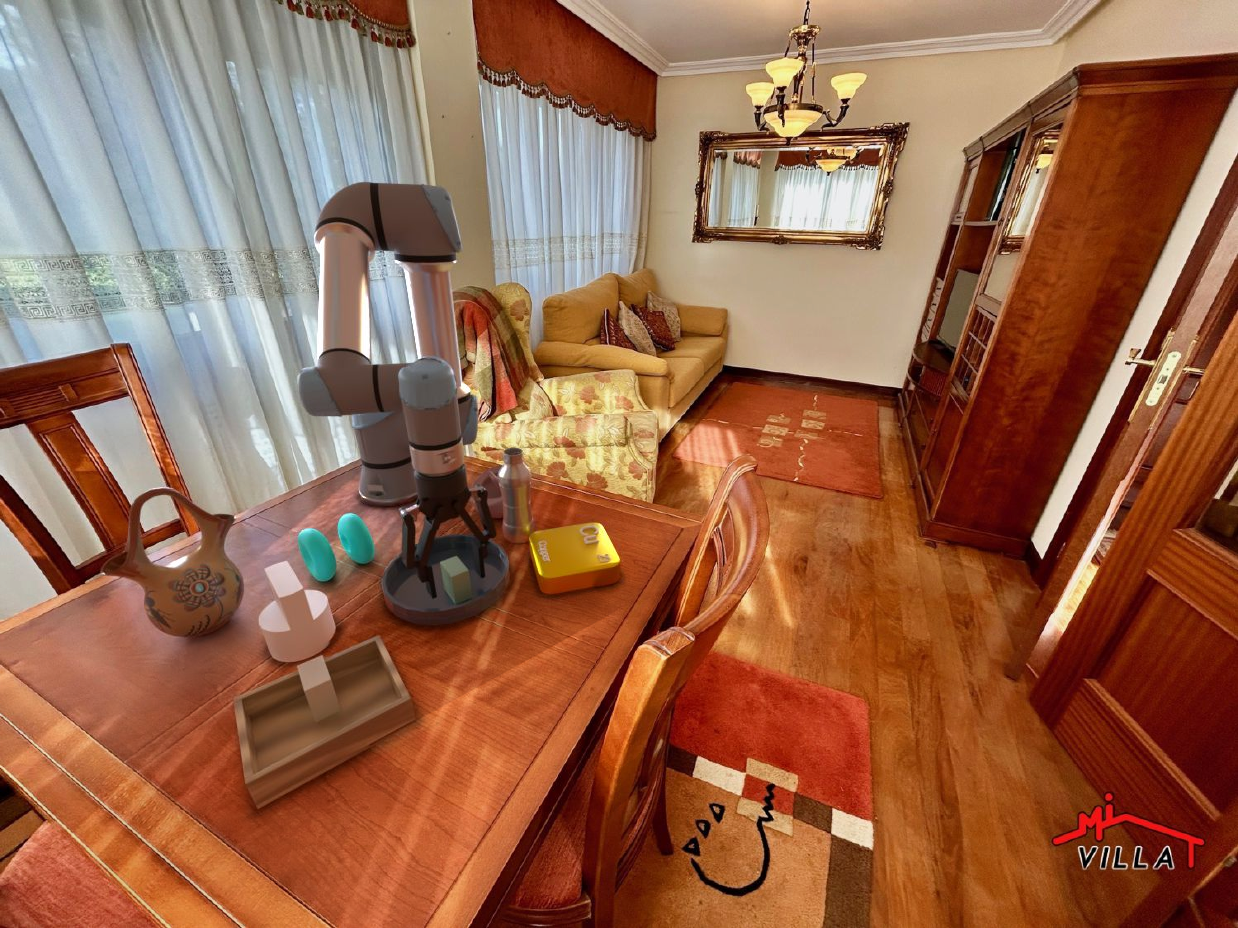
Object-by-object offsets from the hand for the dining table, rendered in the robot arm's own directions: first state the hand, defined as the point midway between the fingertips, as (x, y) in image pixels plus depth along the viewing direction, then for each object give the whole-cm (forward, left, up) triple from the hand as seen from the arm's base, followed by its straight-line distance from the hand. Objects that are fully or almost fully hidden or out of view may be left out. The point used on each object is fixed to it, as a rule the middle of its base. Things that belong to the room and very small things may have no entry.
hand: (456, 583), depth 86 cm
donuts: (-20, -14, -3) cm, 25 cm away
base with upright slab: (-5, -23, -3) cm, 24 cm away
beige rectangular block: (+10, -23, -2) cm, 25 cm away
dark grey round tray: (-4, 0, -3) cm, 5 cm away
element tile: (+5, +21, -3) cm, 22 cm away
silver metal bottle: (-9, +17, -3) cm, 19 cm away
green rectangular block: (0, 0, -2) cm, 2 cm away
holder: (+13, -23, -3) cm, 27 cm away
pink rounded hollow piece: (-20, +18, -3) cm, 27 cm away
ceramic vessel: (-17, -34, -3) cm, 38 cm away
